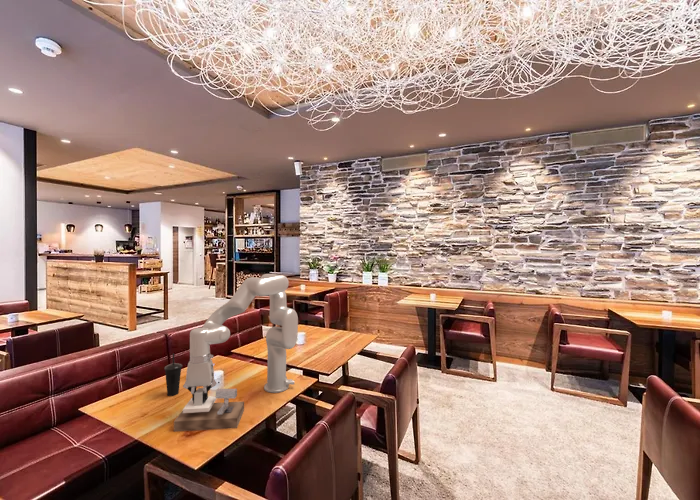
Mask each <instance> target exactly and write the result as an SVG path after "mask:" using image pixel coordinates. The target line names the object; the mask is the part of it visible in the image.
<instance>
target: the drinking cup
mask: <svg viewBox="0 0 700 500" xmlns="http://www.w3.org/2000/svg"><path fill="white" fill-rule="evenodd" d="M182 368H183V364H182V363H179V362H177V363H176V362H175V353H172V363H170V364H168V365H166V366H164V371H165V373H164V374H165V381H166V382H165V384H166V385H165V386H166V394H167V396H168V397H173V396H176V395H178V394H179V392H180V383H181V374H182Z"/></svg>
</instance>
